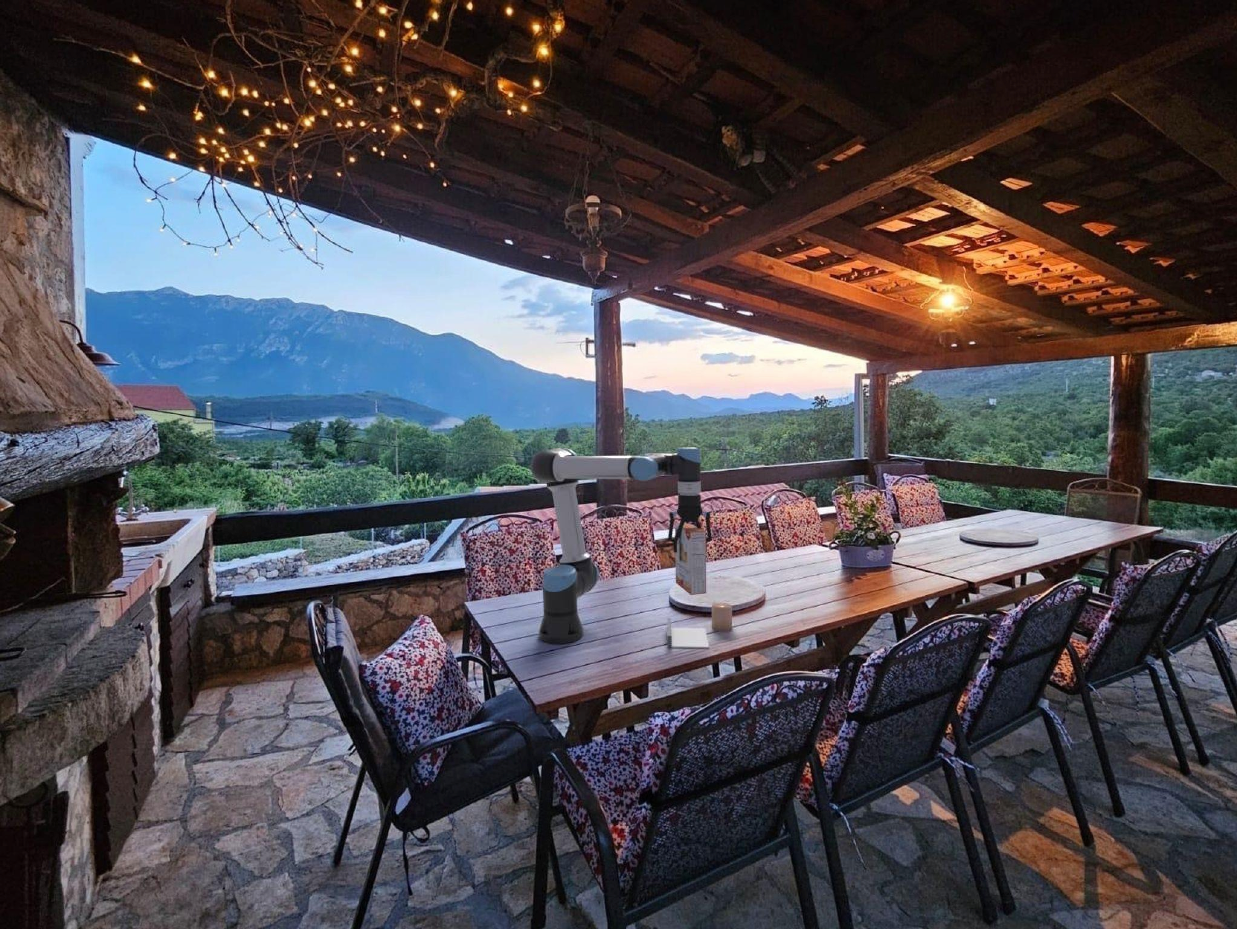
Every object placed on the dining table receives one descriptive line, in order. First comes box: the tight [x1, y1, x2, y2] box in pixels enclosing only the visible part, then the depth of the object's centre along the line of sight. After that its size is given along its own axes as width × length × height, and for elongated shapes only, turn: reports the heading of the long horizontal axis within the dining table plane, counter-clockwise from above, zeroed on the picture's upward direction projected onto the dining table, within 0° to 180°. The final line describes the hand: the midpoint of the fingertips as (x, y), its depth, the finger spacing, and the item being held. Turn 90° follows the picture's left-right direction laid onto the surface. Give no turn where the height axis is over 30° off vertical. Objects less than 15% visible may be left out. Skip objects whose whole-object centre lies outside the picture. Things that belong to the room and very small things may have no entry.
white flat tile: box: [666, 617, 710, 649], centre depth 186 cm, size 13×16×4 cm
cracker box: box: [674, 523, 707, 596], centre depth 184 cm, size 14×6×21 cm, turn 14°
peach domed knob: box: [711, 602, 733, 633], centre depth 195 cm, size 7×7×8 cm
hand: (690, 561), depth 184 cm, fingers closed on cracker box, 7 cm apart
